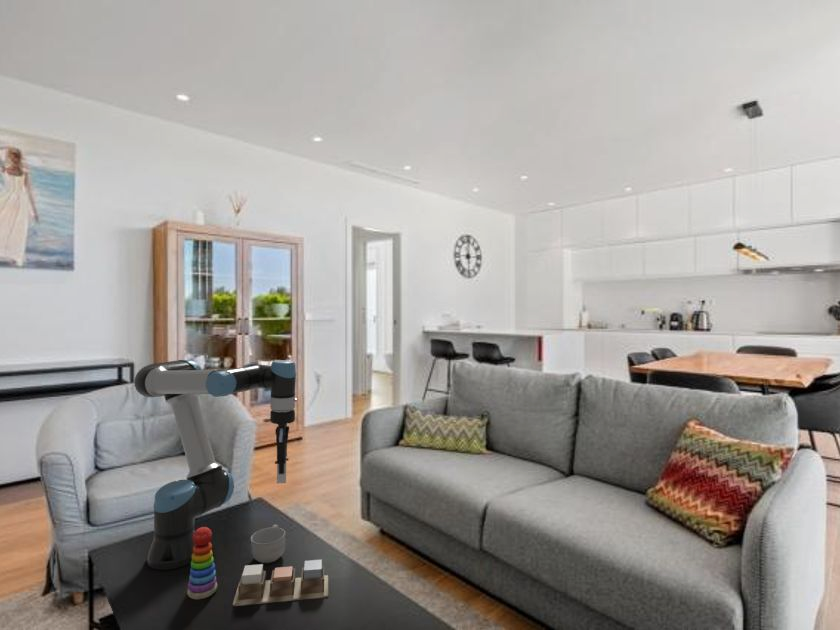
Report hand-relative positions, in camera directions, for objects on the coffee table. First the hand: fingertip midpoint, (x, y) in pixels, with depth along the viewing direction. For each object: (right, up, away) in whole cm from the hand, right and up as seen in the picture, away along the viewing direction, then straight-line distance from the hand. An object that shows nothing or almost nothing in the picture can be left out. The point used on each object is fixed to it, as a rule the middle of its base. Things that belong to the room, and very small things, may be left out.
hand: (281, 482), depth 151 cm
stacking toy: (-19, -27, -15) cm, 36 cm away
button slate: (+13, -24, -12) cm, 30 cm away
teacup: (-5, -26, +5) cm, 27 cm away
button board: (+4, -27, -13) cm, 30 cm away
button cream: (-4, -24, -15) cm, 28 cm away
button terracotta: (+4, -26, -13) cm, 29 cm away
